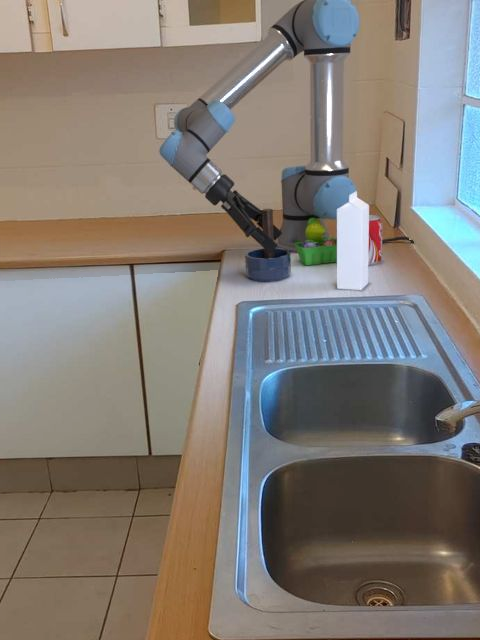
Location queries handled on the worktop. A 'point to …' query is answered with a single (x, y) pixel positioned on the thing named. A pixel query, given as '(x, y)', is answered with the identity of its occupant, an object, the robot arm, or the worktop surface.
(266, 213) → the brown post with base
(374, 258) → the soda can
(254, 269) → the bowl
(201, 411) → the worktop surface
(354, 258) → the milk
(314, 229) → the fruit basket
